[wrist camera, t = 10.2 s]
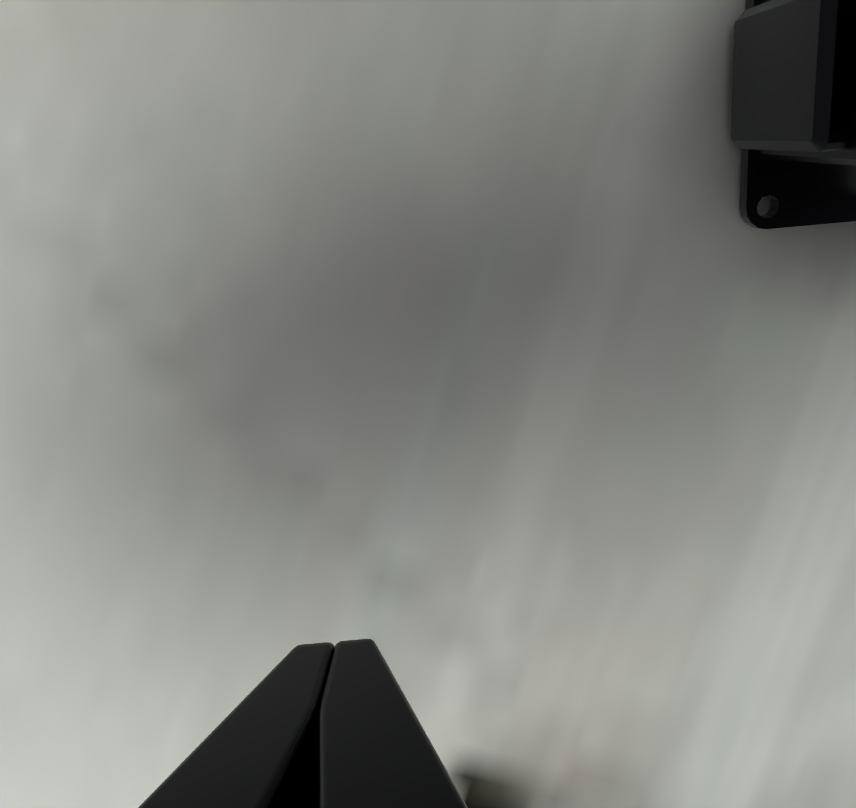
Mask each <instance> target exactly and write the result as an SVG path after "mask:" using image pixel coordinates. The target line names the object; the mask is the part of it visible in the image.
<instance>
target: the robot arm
mask: <svg viewBox="0 0 856 808" xmlns="http://www.w3.org/2000/svg"><path fill="white" fill-rule="evenodd" d="M731 138H732V140H733V141H734V142H735V143H736V144H737V145H738V146H739V147H740V148H741V149H742V150H741V179H740V213H741V217H742V218H743V220H744V221H745V222H746V223H747V224H749V225H751V226H753V227H757V228H763V229H772V228H783V227H794V226H805V225H816V224H827V223H838V222H849V221H856V0H747V2H746V10H745V11H744V13H743V14H742V15H741V16H740V17H739V18H738V20H737V21H736V22H735V26H734V58H733V92H732V126H731ZM765 196H768V197H769V198H770V199H771V202H772V206H771V209H770V211H769V212H768V213H767V214H766V215H764V216H760V215H759V214H758V212H757V205H758V202H759V201H760V200H761V199H762V198H763V197H765ZM138 808H467V806H466V804H465V803H464V801H463V799H462V797H461V795H460V794H459V792H458V790H457V788H456V787H455V785H454V783H453V781H452V779H451V778H450V776H449V774H448V772H447V770H446V769H445V767H444V765H443V763H442V761H441V760H440V758H439V756H438V754H437V753H436V751H435V749H434V747H433V745H432V744H431V742H430V740H429V738H428V736H427V735H426V733H425V731H424V729H423V727H422V726H421V724H420V722H419V720H418V719H417V717H416V715H415V713H414V711H413V710H412V708H411V706H410V704H409V702H408V701H407V699H406V697H405V695H404V694H403V692H402V690H401V688H400V686H399V685H398V683H397V681H396V679H395V677H394V676H393V674H392V672H391V670H390V668H389V667H388V665H387V663H386V661H385V660H384V658H383V656H382V654H381V652H380V651H379V649H378V647H377V645H376V644H375V642H374V641H373V640H371V639H360V640H349V641H341V642H338V643H337V644H336V646H334V645H333V644H332V643H329V642H326V643H315V644H303V645H298V646H296V647H295V648H294V649H293V650H292V651H291V652H290V653H289V654H288V655H287V656H286V657H285V658H284V659H283V660H282V661H281V662H280V663H279V664H278V665H277V666H276V667H275V668H274V669H273V670H272V671H271V672H270V673H269V674H268V675H267V676H266V677H265V678H264V679H263V680H262V681H261V682H260V683H259V684H258V686H257V687H256V688H255V689H254V690H253V691H252V692H251V693H250V694H249V695H248V696H247V697H246V698H245V699H244V700H243V701H242V702H241V703H240V704H239V705H238V706H237V707H236V708H235V709H234V710H233V711H232V712H231V713H230V714H229V715H228V716H227V717H226V718H225V719H224V720H223V721H222V722H221V723H220V724H219V725H218V727H217V728H216V729H215V730H214V731H213V732H212V733H211V734H210V735H209V736H208V737H207V738H206V739H205V740H204V741H203V742H202V743H201V744H200V745H199V746H198V747H197V748H196V749H195V750H194V751H193V752H192V753H191V754H190V755H189V756H188V757H187V758H186V759H185V760H184V761H183V762H182V763H181V764H180V765H179V766H178V767H177V769H176V770H175V771H174V772H173V773H172V774H171V775H170V776H169V777H168V778H167V779H166V780H165V781H164V782H163V783H162V784H161V785H160V786H159V787H158V788H157V789H156V790H155V791H154V792H153V793H152V794H151V795H150V796H149V797H148V798H147V799H146V800H145V801H144V802H143V803H142V804H141V805H140V806H139V807H138Z"/></svg>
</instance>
